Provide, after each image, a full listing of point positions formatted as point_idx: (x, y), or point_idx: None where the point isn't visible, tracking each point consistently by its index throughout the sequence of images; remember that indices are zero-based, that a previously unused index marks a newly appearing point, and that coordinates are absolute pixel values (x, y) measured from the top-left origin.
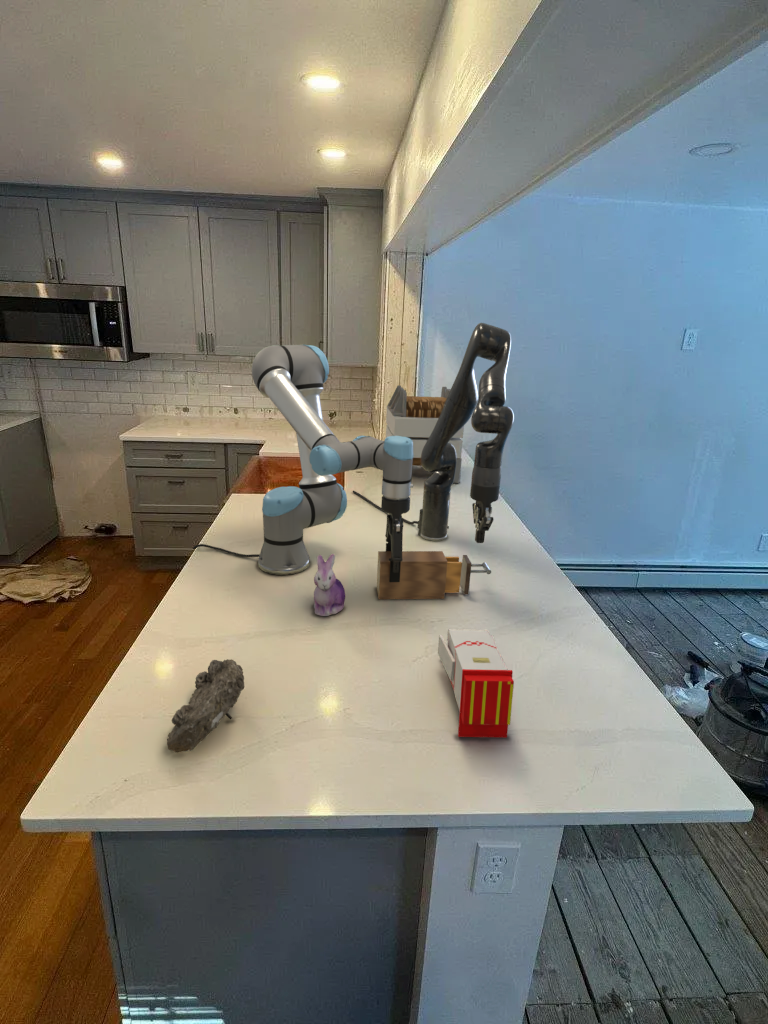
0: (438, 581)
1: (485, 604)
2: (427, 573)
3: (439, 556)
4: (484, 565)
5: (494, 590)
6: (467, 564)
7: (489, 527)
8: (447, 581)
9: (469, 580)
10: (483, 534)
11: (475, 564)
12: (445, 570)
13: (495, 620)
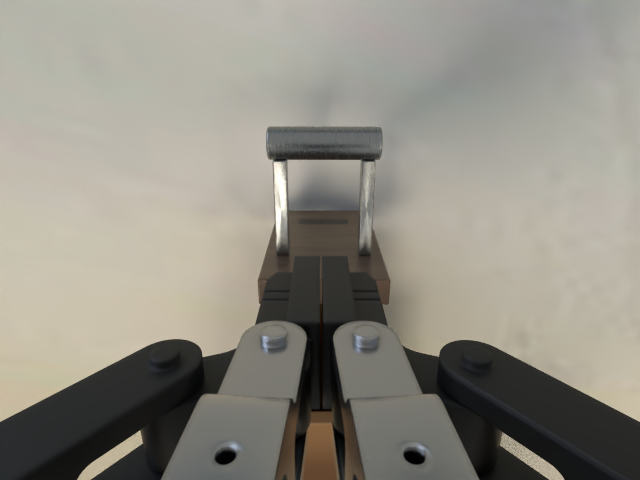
0: None
1: (431, 145)
2: None
3: (327, 448)
4: (309, 156)
5: (300, 59)
6: (387, 299)
7: (587, 402)
8: None
9: (374, 237)
10: (384, 324)
11: (282, 204)
12: None
13: (569, 140)
